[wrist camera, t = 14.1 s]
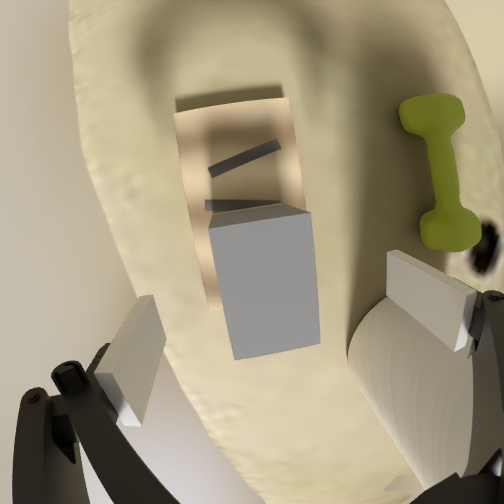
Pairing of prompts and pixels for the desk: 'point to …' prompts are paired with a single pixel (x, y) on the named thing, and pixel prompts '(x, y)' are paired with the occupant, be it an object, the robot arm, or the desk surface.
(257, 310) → the block
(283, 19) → the desk surface
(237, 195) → the board
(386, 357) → the vase
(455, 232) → the dumbbell
